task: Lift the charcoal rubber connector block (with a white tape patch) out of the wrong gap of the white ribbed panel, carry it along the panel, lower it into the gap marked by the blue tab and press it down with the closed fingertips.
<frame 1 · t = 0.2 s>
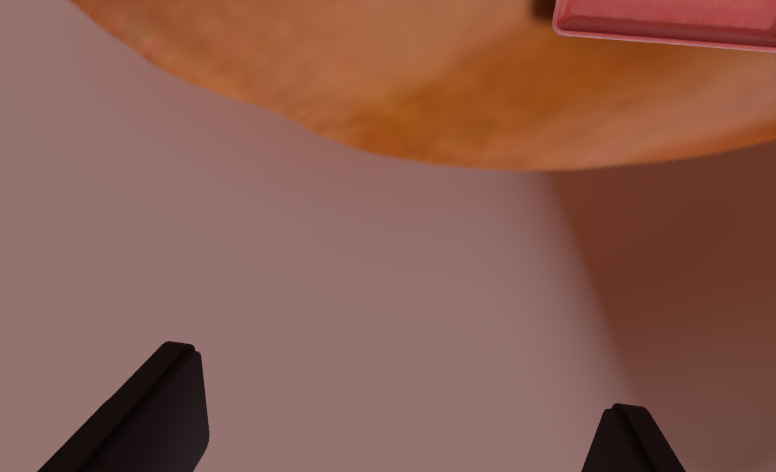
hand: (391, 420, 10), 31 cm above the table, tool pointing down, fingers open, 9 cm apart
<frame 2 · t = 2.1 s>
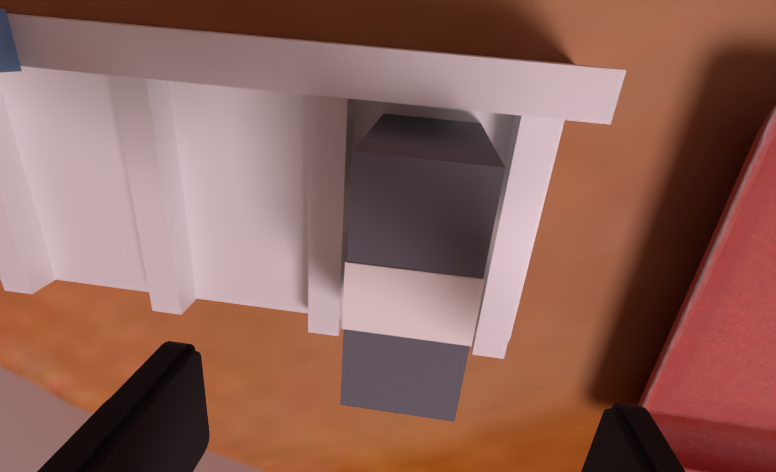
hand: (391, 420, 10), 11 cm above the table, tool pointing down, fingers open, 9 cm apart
white ribbed panel: (257, 176, 20), on the table
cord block: (419, 219, 19), point 1 cm above the table, touching white ribbed panel
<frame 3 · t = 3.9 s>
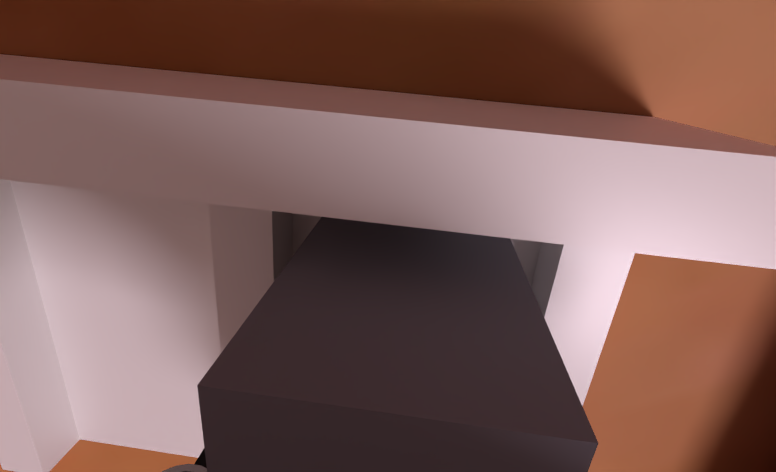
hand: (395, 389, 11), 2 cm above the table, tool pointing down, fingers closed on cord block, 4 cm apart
white ribbed panel: (154, 275, 13), on the table
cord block: (400, 347, 12), point 1 cm above the table, touching white ribbed panel, gripper
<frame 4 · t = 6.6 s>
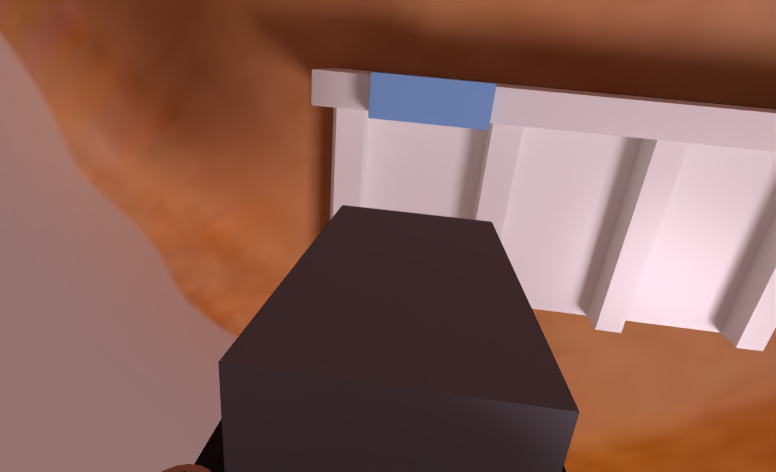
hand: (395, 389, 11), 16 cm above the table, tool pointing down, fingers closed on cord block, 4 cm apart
white ribbed panel: (563, 201, 24), on the table
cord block: (399, 355, 13), point 14 cm above the table, touching gripper
when the fingers open (3 cm above the table, at t = 9.5 s): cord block stays where it is, resting on white ribbed panel.
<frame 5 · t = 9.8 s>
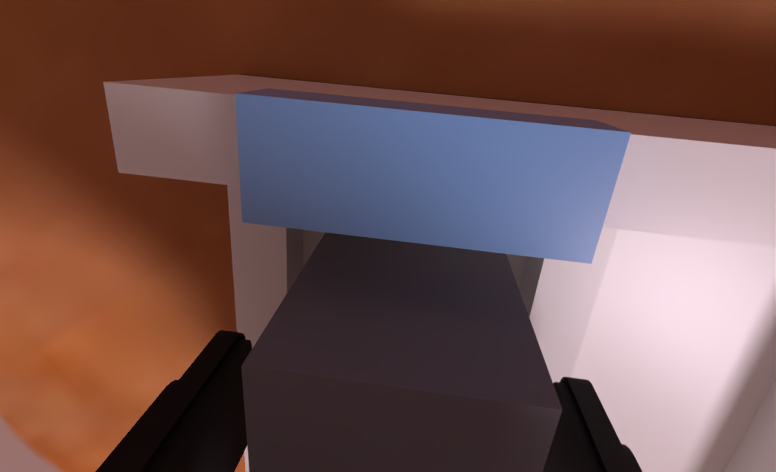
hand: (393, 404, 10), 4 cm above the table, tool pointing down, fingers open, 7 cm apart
white ribbed panel: (675, 325, 13), on the table
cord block: (403, 338, 13), point 1 cm above the table, touching white ribbed panel
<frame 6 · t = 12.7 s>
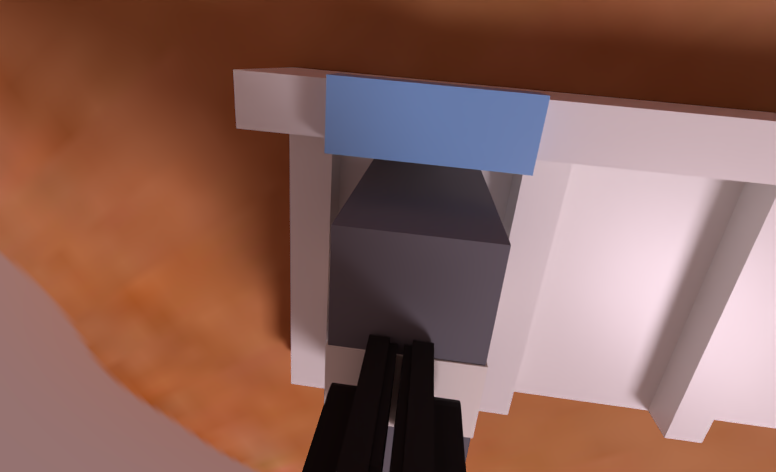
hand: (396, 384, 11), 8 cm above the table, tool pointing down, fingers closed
white ribbed panel: (621, 258, 17), on the table
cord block: (414, 270, 18), point 1 cm above the table, touching white ribbed panel, gripper
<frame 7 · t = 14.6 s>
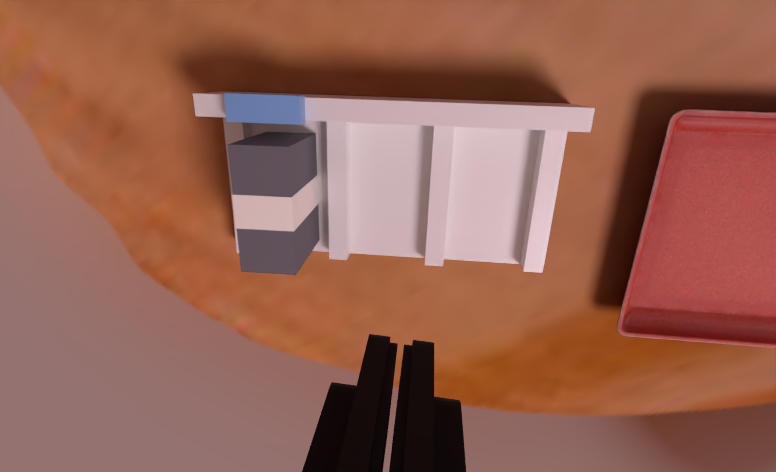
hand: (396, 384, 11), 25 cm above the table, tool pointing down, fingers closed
white ribbed panel: (393, 174, 34), on the table
plant saucer: (738, 226, 34), on the table
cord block: (294, 187, 35), point 1 cm above the table, touching white ribbed panel
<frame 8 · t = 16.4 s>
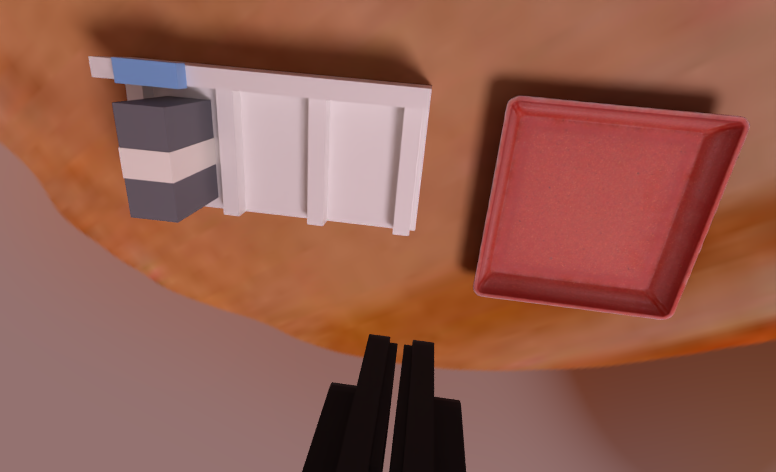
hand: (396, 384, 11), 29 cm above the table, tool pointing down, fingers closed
white ribbed panel: (281, 141, 39), on the table
plant saucer: (583, 204, 38), on the table
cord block: (194, 148, 39), point 1 cm above the table, touching white ribbed panel
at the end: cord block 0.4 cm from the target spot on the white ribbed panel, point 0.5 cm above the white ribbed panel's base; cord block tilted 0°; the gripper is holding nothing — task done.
